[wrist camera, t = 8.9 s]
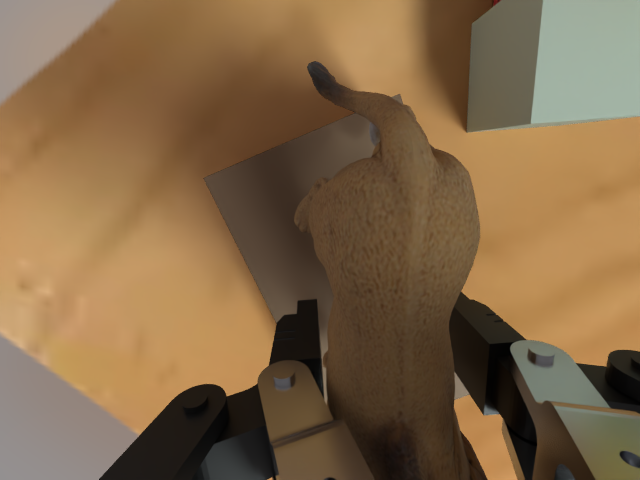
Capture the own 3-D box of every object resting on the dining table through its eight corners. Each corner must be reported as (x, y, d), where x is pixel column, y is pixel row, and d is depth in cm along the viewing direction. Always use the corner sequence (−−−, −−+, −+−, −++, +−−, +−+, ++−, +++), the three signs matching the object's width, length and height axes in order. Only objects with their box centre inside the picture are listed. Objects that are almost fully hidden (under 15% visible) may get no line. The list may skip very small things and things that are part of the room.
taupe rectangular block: (372, 111, 16) (399, 93, 12) (446, 330, 20) (490, 386, 15) (233, 171, 17) (203, 178, 12) (329, 374, 20) (336, 442, 16)
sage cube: (572, 17, 15) (693, -46, 11) (559, 125, 17) (661, 114, 12) (471, 24, 15) (546, -36, 10) (465, 132, 17) (530, 123, 12)
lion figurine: (458, 405, 14) (706, 819, 5) (342, 435, 14) (399, 882, 5) (386, 44, 10) (894, -644, 1) (228, 93, 10) (-211, -248, 2)
